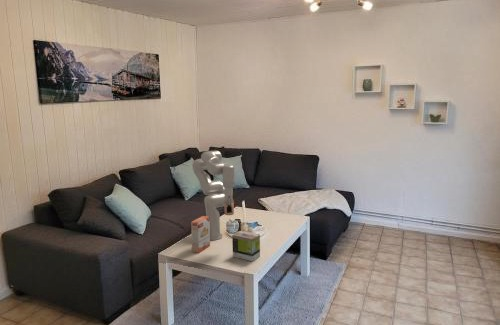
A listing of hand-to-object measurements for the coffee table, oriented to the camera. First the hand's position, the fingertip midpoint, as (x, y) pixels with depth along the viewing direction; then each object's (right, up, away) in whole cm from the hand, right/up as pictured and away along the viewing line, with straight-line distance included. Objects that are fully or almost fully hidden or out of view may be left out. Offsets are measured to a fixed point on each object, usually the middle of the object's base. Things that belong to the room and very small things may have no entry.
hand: (229, 210), depth 252 cm
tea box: (+11, -29, -5) cm, 31 cm away
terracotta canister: (0, -2, 0) cm, 2 cm away
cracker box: (-19, -27, +7) cm, 33 cm away
